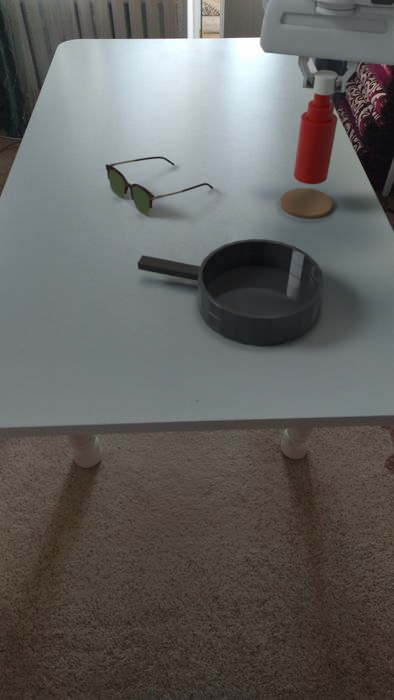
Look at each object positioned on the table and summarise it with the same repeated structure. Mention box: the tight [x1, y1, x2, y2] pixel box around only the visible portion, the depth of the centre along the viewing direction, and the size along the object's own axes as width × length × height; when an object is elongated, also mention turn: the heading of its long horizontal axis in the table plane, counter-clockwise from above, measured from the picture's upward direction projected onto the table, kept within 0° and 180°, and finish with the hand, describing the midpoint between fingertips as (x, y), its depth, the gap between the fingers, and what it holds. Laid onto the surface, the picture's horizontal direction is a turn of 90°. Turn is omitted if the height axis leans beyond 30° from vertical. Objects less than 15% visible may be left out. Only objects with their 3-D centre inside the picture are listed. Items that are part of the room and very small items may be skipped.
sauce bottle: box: [293, 69, 339, 185], centre depth 87 cm, size 6×6×16 cm
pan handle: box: [137, 254, 201, 282], centre depth 80 cm, size 9×2×1 cm, turn 72°
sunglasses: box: [105, 156, 214, 216], centre depth 99 cm, size 14×15×5 cm
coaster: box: [279, 187, 333, 219], centre depth 97 cm, size 9×9×1 cm
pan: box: [197, 238, 325, 346], centre depth 77 cm, size 17×17×5 cm
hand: (324, 88), depth 83 cm, fingers closed on sauce bottle, 3 cm apart
